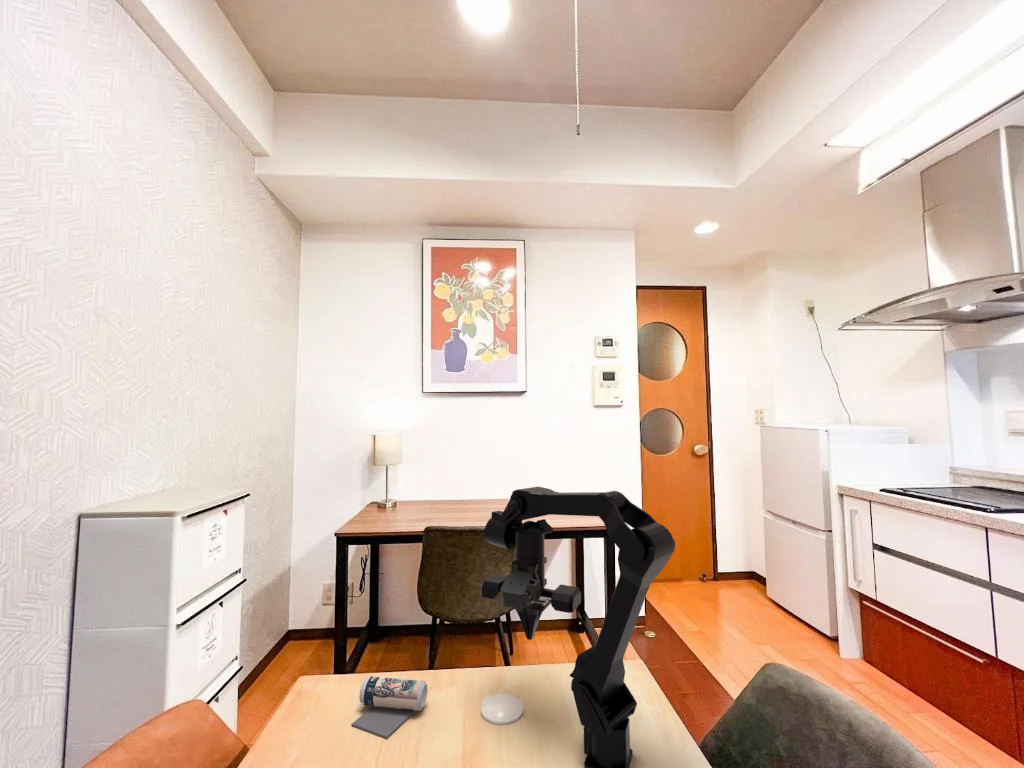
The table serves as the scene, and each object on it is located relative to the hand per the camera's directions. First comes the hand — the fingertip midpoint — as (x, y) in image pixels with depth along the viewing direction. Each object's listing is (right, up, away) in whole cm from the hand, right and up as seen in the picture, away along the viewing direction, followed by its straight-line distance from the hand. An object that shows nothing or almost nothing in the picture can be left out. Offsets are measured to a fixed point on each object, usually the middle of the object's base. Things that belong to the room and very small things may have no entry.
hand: (530, 638), depth 84 cm
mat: (-26, -13, -2) cm, 29 cm away
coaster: (-5, -13, -1) cm, 14 cm away
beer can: (-20, -10, -1) cm, 22 cm away
